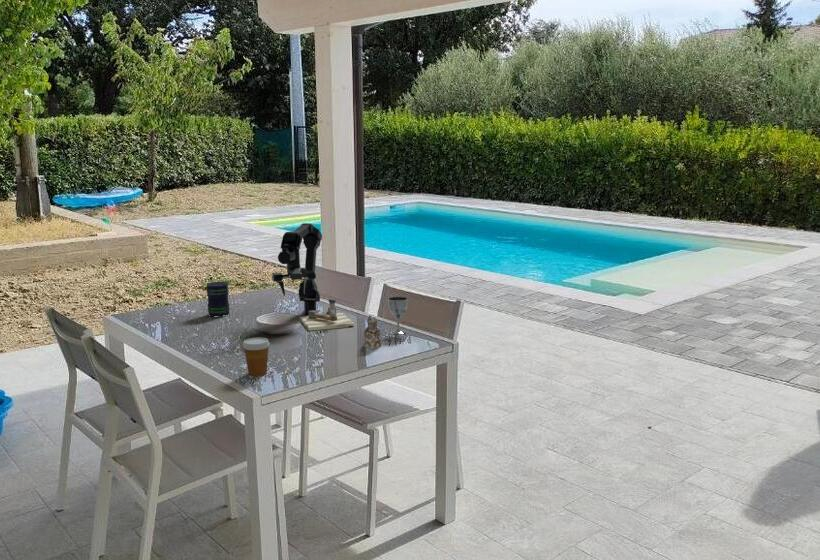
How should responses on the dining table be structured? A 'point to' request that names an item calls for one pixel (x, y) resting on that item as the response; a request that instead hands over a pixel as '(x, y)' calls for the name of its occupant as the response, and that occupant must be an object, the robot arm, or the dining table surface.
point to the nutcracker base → (326, 322)
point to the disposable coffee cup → (256, 355)
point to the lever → (323, 316)
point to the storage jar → (218, 298)
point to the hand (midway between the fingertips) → (294, 294)
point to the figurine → (372, 334)
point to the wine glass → (398, 309)
